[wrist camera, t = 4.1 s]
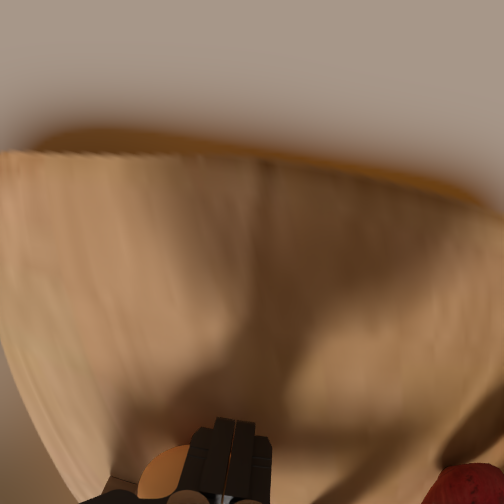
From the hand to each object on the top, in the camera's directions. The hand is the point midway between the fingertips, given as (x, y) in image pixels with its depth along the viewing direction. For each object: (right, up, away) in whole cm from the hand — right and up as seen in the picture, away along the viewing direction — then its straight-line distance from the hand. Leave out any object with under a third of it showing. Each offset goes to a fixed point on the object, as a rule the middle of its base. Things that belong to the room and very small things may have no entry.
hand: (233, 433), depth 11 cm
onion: (+13, -6, +2) cm, 14 cm away
